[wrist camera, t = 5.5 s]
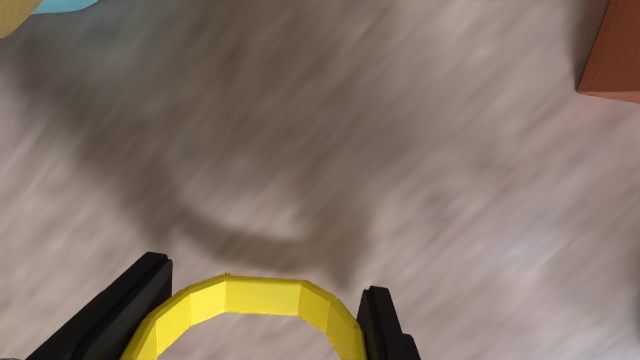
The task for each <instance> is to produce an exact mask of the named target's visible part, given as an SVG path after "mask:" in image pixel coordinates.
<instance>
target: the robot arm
mask: <svg viewBox="0 0 640 360" xmlns="http://www.w3.org/2000/svg"><path fill="white" fill-rule="evenodd" d="M172 268H173V263H172V260H170V259H168V256H167V255H166V254H161V253H154V252H147V253H145V254H144V255H143V256H142V257H141V258H139V259H138V260H137V261H136V262H135V263H134V264H133V265H132V266H131V267H129V268H128V269H127V270H126V271H125V272H124V273H123V274H122V275H121V276H119V277H118V278H117V279H116V280H115V281H114V282H113V283H112V284H111V285H109V286H108V287H107V288H106V289H105V290H103V291H102V292H101V293H99V294H98V295H97V296H96V297H95V298H93V299H92V300H91V301H90V302H89V303H88V304H87V305H86V306H84V307H83V308H82V309H81V310H80V311H79V312H78V313H77V314H76V315H74V316H73V317H72V318H71V319H70V320H69V321H68V322H67V323H65V324H64V325H63V326H62V327H61V328H60V329H59V330H58V331H56V332H55V333H54V334H53V335H52V336H51V337H50V338H49V339H48V340H46V341H45V342H44V343H43V344H42V345H41V346H40V347H39V348H37V349H36V350H35V351H34V352H33V353H32V354H31V355H30V356H28V357H27V358H26V359H25V360H119V359H120V357H121V355H122V354H123V352H124V350H125V348H126V347H127V345H128V343H129V341H130V340H131V338H132V336H133V334H134V333H135V331H136V329H137V327H138V326H139V324H140V323H141V321H142V320H143V319H144V318H146V316H147V315H148V314H149V313H150V312H152V311H153V310H154V309H156V308H157V307H158V306H160V305H161V304H162V303H164V302H165V301H166V300H168V299H169V298H170V297H171V296H172ZM356 321H357V322H358V324H359V325H360V326H361V327H360V329H361V330H362V331H363V334H364V340H365V347H366V353H367V360H421V359H420V356H419V353H418V350H417V347H416V345H415V342H414V339H413V337H412V336H411V335H410V334H403V333H402V330H401V327H400V324H399V321H398V317H397V314H396V311H395V308H394V305H393V302H392V299H391V295H390V292H389V290H388V288H383V287H377V286H370V288H369V290H366V289H364V291H363V294H362V298H361V302H360V306H359V311H358V315H357V319H356ZM0 360H20V359H16V358H3V359H0Z"/></svg>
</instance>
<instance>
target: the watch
mask: <svg viewBox="0 0 640 360" xmlns="http://www.w3.org/2000/svg"><path fill="white" fill-rule="evenodd" d="M223 312H234V313H254V314H275V315H295V316H300V317H301V318H303V319H304V320H306V321H307V322H309V323H310V324H312V325H313V326H315V327H316V328H318V329H319V330H321V331H322V332H324V333H326V335H327V337H328V338H329V340H330V342H331V343H332V345H333V346H334V348H335V350H336V351H337V353H338V354H339V356H340V358H341V359H342V360H367V353H366V347H365V340H364V334H363V331H362V330H361V329H360V327H361V326H360V325H359V324H358V322H357V321H356V320H355V319H354V317H353V316H352V315H351V313H350V312H349V311H348V310H347V308H346V307H345V306H344V304H343V303H342V302H341V301H340V300H339V299H336V296H335V295H333V294H331V293H329V292H327V291H326V290H324V289H322V288H320V287H319V286H317V285H315V284H313V283H311V282H310V281H308V280H296V279H279V278H262V277H245V276H230V273H225V275H223V274H222V275H219V276H216V277H213V278H210V279H208V280H205V281H202V282H199V283H196V284H193V285H190V286H187V287H186V288H185V289H184V290H182V289H181V290H180V291H178V292H177V293H176V294H174V295H173V296H172V297H170V298H169V299H168V300H166V301H165V302H164V303H162V304H161V305H160V306H158V307H157V308H156V309H154V310H153V311H152V312H150V313H149V314H148V315H147V316H146V318H144V319H143V320H142V321H141V323H140V324H139V326H138V327H137V329H136V331H135V333H134V334H133V336H132V338H131V340H130V341H129V343H128V345H127V347H126V348H125V350H124V352H123V354H122V355H121V357H120V359H119V360H156V359H157V356H159V355H160V354H161V353H162V352H163V351H164V350H165V349H166V348H167V347H168V346H170V345H171V344H172V343H173V342H174V341H175V340H176V339H177V338H178V337H179V336H180V335H181V334H183V333H184V332H185V331H186V330H187V329H188V328H189V327H191V326H193V325H196V324H198V323H200V322H202V321H205V320H207V319H209V318H212V317H214V316H216V315H218V314H221V313H223Z"/></svg>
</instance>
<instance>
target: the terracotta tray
mask: <svg viewBox="0 0 640 360" xmlns="http://www.w3.org/2000/svg"><path fill="white" fill-rule="evenodd" d="M577 93H579V94H585V95H591V96H597V97H603V98H609V99H615V100H621V101H627V102H633V103H638V104H640V0H610V3H609V5H608V8H607V11H606V13H605V16H604V19H603V22H602V24H601V27H600V30H599V33H598V35H597V38H596V41H595V43H594V46H593V49H592V52H591V54H590V57H589V60H588V63H587V65H586V68H585V71H584V73H583V76H582V79H581V82H580V84H579V87H578V90H577Z"/></svg>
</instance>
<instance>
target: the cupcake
mask: <svg viewBox="0 0 640 360" xmlns="http://www.w3.org/2000/svg"><path fill="white" fill-rule="evenodd" d="M97 1H98V0H0V39H1V38H3V37H6V36H8V35H9V34H11V33H12V32H13V31H14V30H15V29H16V28H17V27H19V26H20V25H21V24H22V23H23V22H24V21H25V20H26V19H27V18H28V17H29V16H30V15H31V14H41V13H64V12H72V11H77V10H81V9H83V8H86V7H88V6H90V5H92V4H94V3H95V2H97Z"/></svg>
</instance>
